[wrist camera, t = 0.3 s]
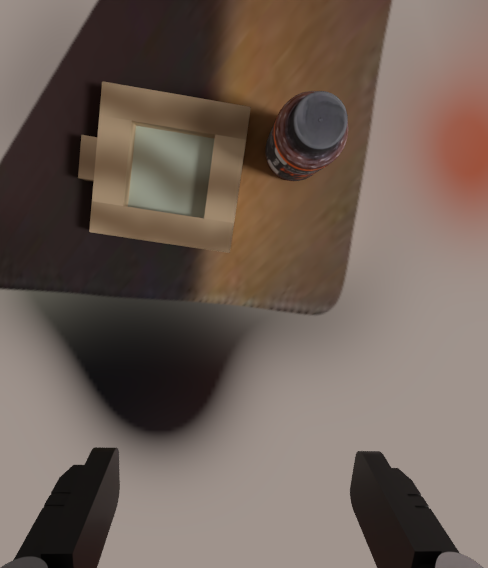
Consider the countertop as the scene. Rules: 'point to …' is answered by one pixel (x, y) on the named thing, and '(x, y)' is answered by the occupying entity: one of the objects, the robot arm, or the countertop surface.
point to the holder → (165, 167)
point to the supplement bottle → (307, 135)
